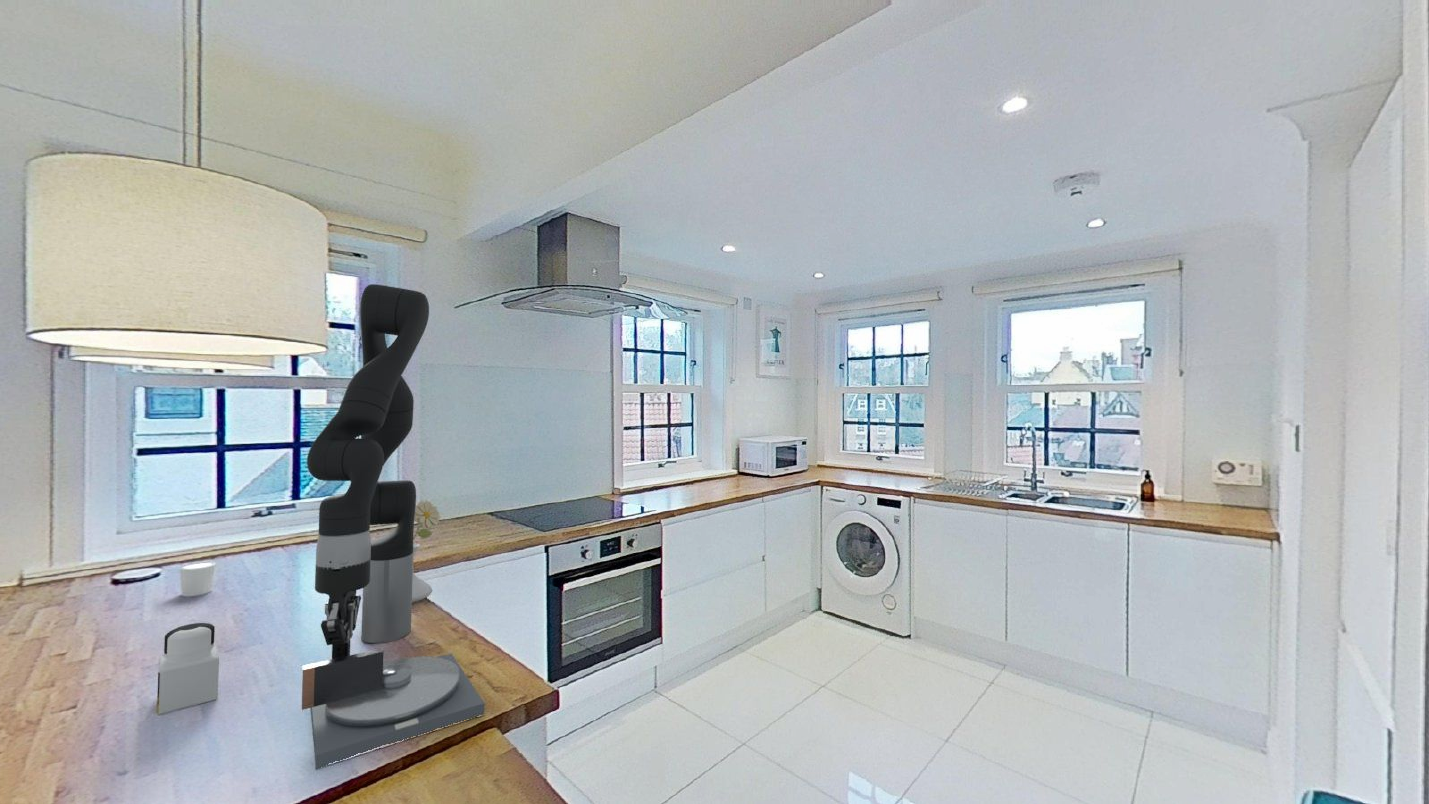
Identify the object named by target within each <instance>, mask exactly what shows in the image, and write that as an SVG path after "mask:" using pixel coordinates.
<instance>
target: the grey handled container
mask: <svg viewBox="0 0 1429 804" xmlns="http://www.w3.org/2000/svg"><path fill="white" fill-rule="evenodd" d="M215 627H216V626H215V625H213V624H212V623H207V622H194V623H189V624H185V625H181V626H179V627H176V628H174V629H172V630H169V631H168V632H167V633H166V634H165V635H164V649H163V654H164V655H161V656H160V657H159V658H158V659H159V660H158V670H157V671H158V672H157V701H156V714H157V715H159V716H160V715H163V714H168V713H170V712H174V711H179V710H181V709H186V708H190V707H194V706H198V705H200V704H206V703H209V702H213V701H215V700H217V699H218V698H219V677H220V676H219V675H220V674H219V673H220V671H219V670H220V668H219V667H220V656H219V648H218V644H215V632H216V631H215Z"/></svg>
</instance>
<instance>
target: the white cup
mask: <svg viewBox="0 0 1429 804" xmlns="http://www.w3.org/2000/svg"><path fill="white" fill-rule="evenodd" d="M216 566H217V563H216V562H212V561H208V562H205V561H204V562H197V563H190V564H187V565H183V566H180V568H179V580H180V589H181V590H180V591H181V596H182V597H197V596H202V595H205V594H208V593H211V592H212V591H213V586H214V580H215V572H216Z"/></svg>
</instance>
